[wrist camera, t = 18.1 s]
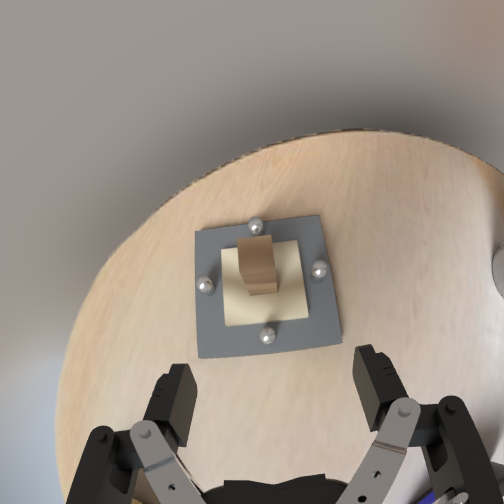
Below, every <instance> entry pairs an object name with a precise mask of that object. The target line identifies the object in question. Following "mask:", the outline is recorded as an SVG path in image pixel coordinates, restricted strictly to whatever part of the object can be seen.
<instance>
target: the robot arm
mask: <svg viewBox="0 0 504 504" xmlns="http://www.w3.org/2000/svg"><path fill="white" fill-rule="evenodd" d="M492 270H493V277H494V281H495V284H496V287H497V289H498V291H499V292H500V294H501V295H502V297H503V298H504V240H503V241H502V242H501V243H499V249H498V251H497V252H496V253H495V255H494V258H493V264H492ZM353 379H354V382H355V385H356V388H357V391H358V394H359V397H360V400H361V403H362V406H363V410H364V413H365V416H366V419H367V422H368V426H369V429H370V432H373V431H378V434H377V436H376V438H375V440H374V442H373V443H372V445H371V447H370V449H369V450H368V452H367V454H366V456H365V458H364V459H363V461H362V463H361V465H360V466H359V468H358V470H357V471H356V473H355V475H354V476H353V478H352V480H351V481H350V483H349V484H347V483H345V482H342V481H339V480H335V479H326V478H325V474H318V475H312V476H304V477H298V478H295V479H292V480H289V481H286V482H282V483H279V484H274V485H273V484H266V483H260V482H254V481H249V480H224V486H219V487H216V488H213V489H210V490H208V491H206V492H204V490H203V489H202V488H201V487H200V485H199V484H198V483H197V482H196V480H195V479H194V478H193V476H192V475H191V473H190V472H189V470H188V469H187V467H186V466H185V464H184V463H183V461H182V460H181V458H180V457H179V455H178V454H177V450H178V447H186V445H187V440H188V435H189V431H190V426H191V421H192V417H193V412H194V407H195V403H196V398H197V384H196V382H195V379H194V377H193V374H192V372H191V369H190V366H189V365H188V364H172V366H171V368H170V371H169V374H163V375H162V376H161V377H160V378H159V379H158V380H157V383H156V385H155V388H154V391H153V393H152V397H151V399H150V401H149V404H148V407H147V410H146V412H145V415H144V418H143V420H142V421H139V422H137V423H136V424H134V425H133V427H132V428H131V430H125V431H117V432H114V431H113V430H112V429H111V428H110V427H108V426H99V427H96V428H95V429H93V430H92V432H91V433H90V435H89V438H88V440H87V443H86V446H85V448H84V451H83V454H82V457H81V459H80V462H79V465H78V468H77V471H76V474H75V476H74V479H73V482H72V486H71V489H70V492H69V495H68V498H67V502H66V504H131V503H132V498H133V493H134V488H135V483H136V479H137V474H138V470H139V468H145V470H144V474H145V476H146V478H147V480H148V482H149V483H150V485H151V487H152V489H153V491H154V493H155V494H156V496H157V498H158V500H159V501H160V503H161V504H382V503H383V501H384V499H385V497H386V495H387V493H388V492H389V490H390V488H391V486H392V484H393V482H394V480H395V478H396V476H397V474H398V471H399V469H400V467H401V465H402V463H403V460H404V458H405V456H406V453H407V451H406V450H407V447H419V446H421V449H422V452H423V455H424V459H425V462H426V465H427V469H428V473H429V476H430V480H431V484H432V488H433V492H434V496H435V500H436V501H435V502H434V503H432V504H504V502H503V498H502V495H501V491H500V488H499V485H498V482H497V479H496V476H495V473H494V471H493V468H492V465H491V462H490V460H489V457H488V455H487V452H486V450H485V447H484V445H483V443H482V440H481V438H480V436H479V433H478V431H477V429H476V427H475V424H474V422H473V420H472V418H471V416H470V414H469V412H468V410H467V408H466V406H465V404H464V402H463V401H462V399H460V398H459V397H457V396H446V397H444V398H442V399H441V400H440V402H439V404H428V405H422V404H418V402H417V401H415V400H414V399H412V398H409V396H408V395H407V392H406V390H405V388H404V386H403V384H402V382H401V380H400V378H399V376H398V374H397V372H396V370H395V368H394V367H393V364H392V362H391V360H390V358H389V357H387V356H386V355H385V354H384V353H383V352H380V353H375V351H374V348H373V346H372V345H371V344H368V345H363V346H358V347H356V348H355V353H354V362H353Z"/></svg>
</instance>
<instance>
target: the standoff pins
mask: <svg viewBox="0 0 504 504" xmlns="http://www.w3.org/2000/svg"><path fill="white" fill-rule="evenodd" d="M248 225H249V229H250V233H251V237H257V236H264V231H263V224H262V220H261V218H259V217H252V218H250V219H249V221H248ZM326 271H327V264H326V263H325V262H324V261H322V260H317V261H315V262H314V264H313V266H312V270H311V274H310V278H311V280H312V281H313V282H315V283H320V282H321V281H322V280H323V279H324V276H325V274H326ZM195 284H196V286H197V287H198V288H199V289H200V290H201V291H202V292H203V293H204V294H205V295H207V296H211V295H213V294H214V293H215V291H216V287H215V285H214V284H213V283H212V281H211V280H210V279H209V278H208V276H206V275H203V274H202V275H199V276H198V277H197V278H196V280H195ZM259 338H260V340H261V341H262V342H263V343H264V344H266V345H271V344H273V343H274V342H275V340H276V336H275V332H274V330H273V329H272V328H271V327H263V328H262V329H261V330H260V331H259Z"/></svg>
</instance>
